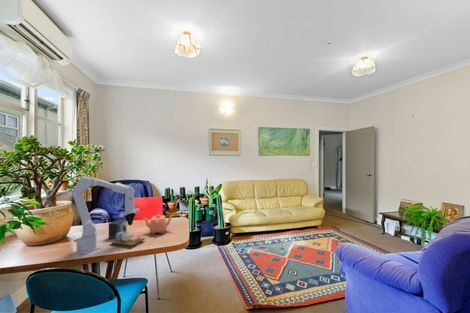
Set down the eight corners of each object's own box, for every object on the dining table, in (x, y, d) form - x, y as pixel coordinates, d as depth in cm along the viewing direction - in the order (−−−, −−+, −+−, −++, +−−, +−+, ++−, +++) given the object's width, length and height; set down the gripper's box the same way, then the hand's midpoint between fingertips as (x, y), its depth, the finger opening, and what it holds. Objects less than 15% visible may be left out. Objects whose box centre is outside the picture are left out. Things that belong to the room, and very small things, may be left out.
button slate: (120, 239, 135) (120, 234, 135) (115, 239, 136) (115, 233, 136) (126, 237, 139) (126, 232, 139) (121, 236, 140) (121, 231, 140)
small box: (116, 239, 142) (116, 224, 142) (108, 238, 144) (107, 223, 144) (127, 233, 153) (127, 219, 153) (119, 233, 154) (119, 219, 154)
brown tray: (130, 248, 127) (130, 244, 127) (109, 244, 134) (109, 241, 134) (144, 241, 137) (144, 238, 137) (124, 238, 144) (124, 234, 144)
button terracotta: (133, 245, 131) (133, 239, 131) (128, 244, 132) (128, 238, 132) (139, 242, 135) (139, 237, 135) (134, 241, 136) (134, 236, 136)
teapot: (142, 233, 152) (142, 216, 152) (161, 227, 166) (161, 211, 166) (155, 237, 144) (155, 219, 144) (174, 230, 158) (174, 213, 158)
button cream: (127, 241, 133) (127, 235, 133) (122, 240, 134) (121, 234, 134) (132, 238, 137) (132, 233, 137) (127, 237, 138) (127, 232, 138)
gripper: (125, 207, 132) (125, 229, 132) (142, 202, 145) (143, 222, 145) (116, 206, 134) (117, 227, 134) (135, 202, 148) (135, 221, 148)
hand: (130, 224), depth 140 cm, fingers closed
